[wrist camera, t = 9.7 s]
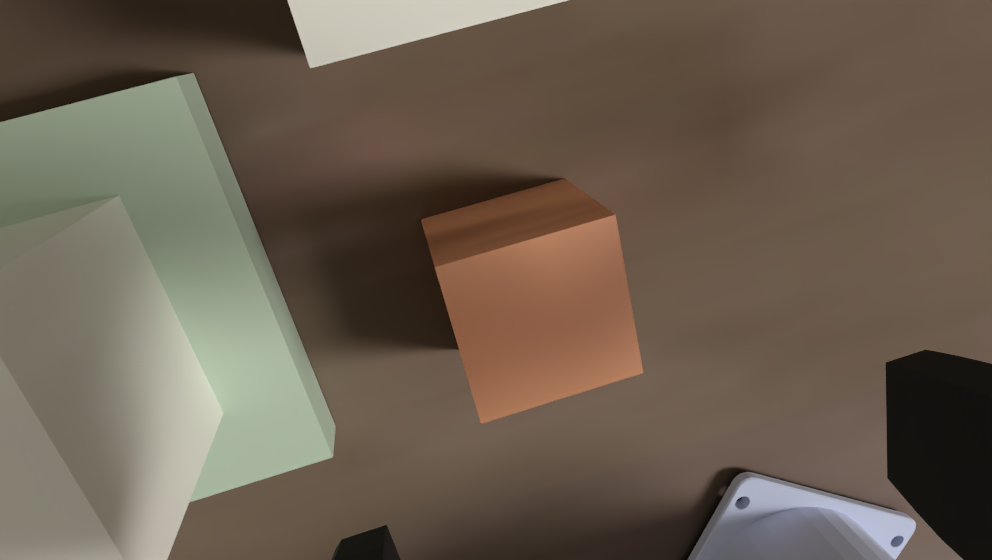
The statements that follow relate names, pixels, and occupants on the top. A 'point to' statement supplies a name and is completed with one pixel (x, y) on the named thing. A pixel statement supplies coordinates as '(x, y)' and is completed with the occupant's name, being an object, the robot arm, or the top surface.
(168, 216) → the coaster
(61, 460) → the cream matte cube
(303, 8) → the cover
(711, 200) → the top surface
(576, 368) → the orange brown block
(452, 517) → the top surface
